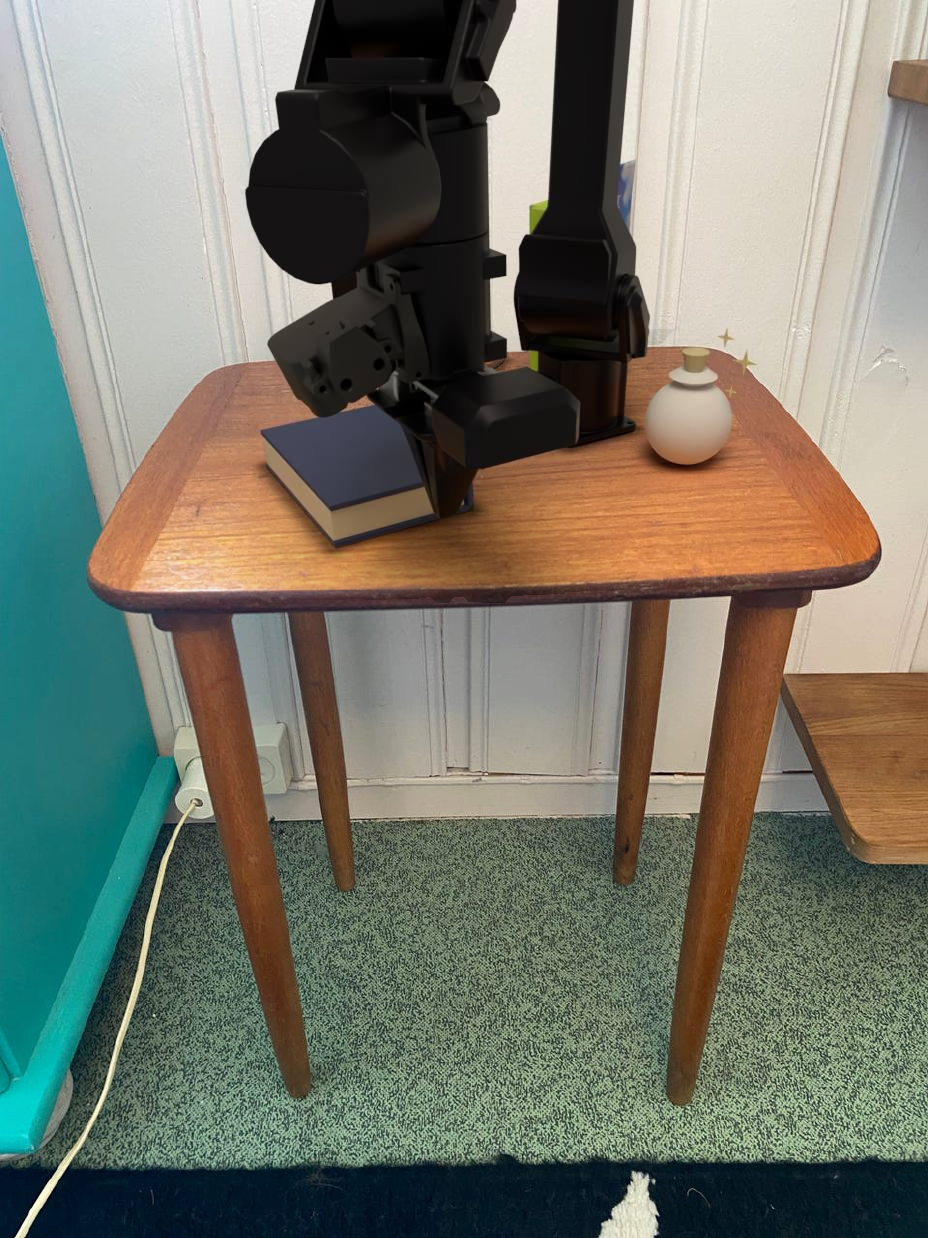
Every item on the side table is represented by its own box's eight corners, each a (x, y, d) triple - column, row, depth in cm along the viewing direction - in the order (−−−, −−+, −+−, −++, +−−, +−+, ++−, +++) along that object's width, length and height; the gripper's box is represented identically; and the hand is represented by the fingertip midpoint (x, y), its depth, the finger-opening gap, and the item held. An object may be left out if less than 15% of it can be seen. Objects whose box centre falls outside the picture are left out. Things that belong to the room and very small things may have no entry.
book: (388, 438, 72) (385, 401, 70) (473, 509, 61) (472, 468, 60) (266, 467, 68) (260, 429, 66) (335, 548, 58) (329, 506, 56)
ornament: (666, 437, 70) (679, 304, 64) (758, 460, 66) (781, 321, 60) (626, 465, 66) (636, 327, 61) (721, 491, 62) (742, 346, 57)
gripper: (216, 221, 48) (263, 487, 57) (350, 304, 35) (384, 637, 43) (406, 195, 52) (422, 447, 61) (593, 260, 39) (579, 573, 48)
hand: (445, 515), depth 53 cm, fingers closed
